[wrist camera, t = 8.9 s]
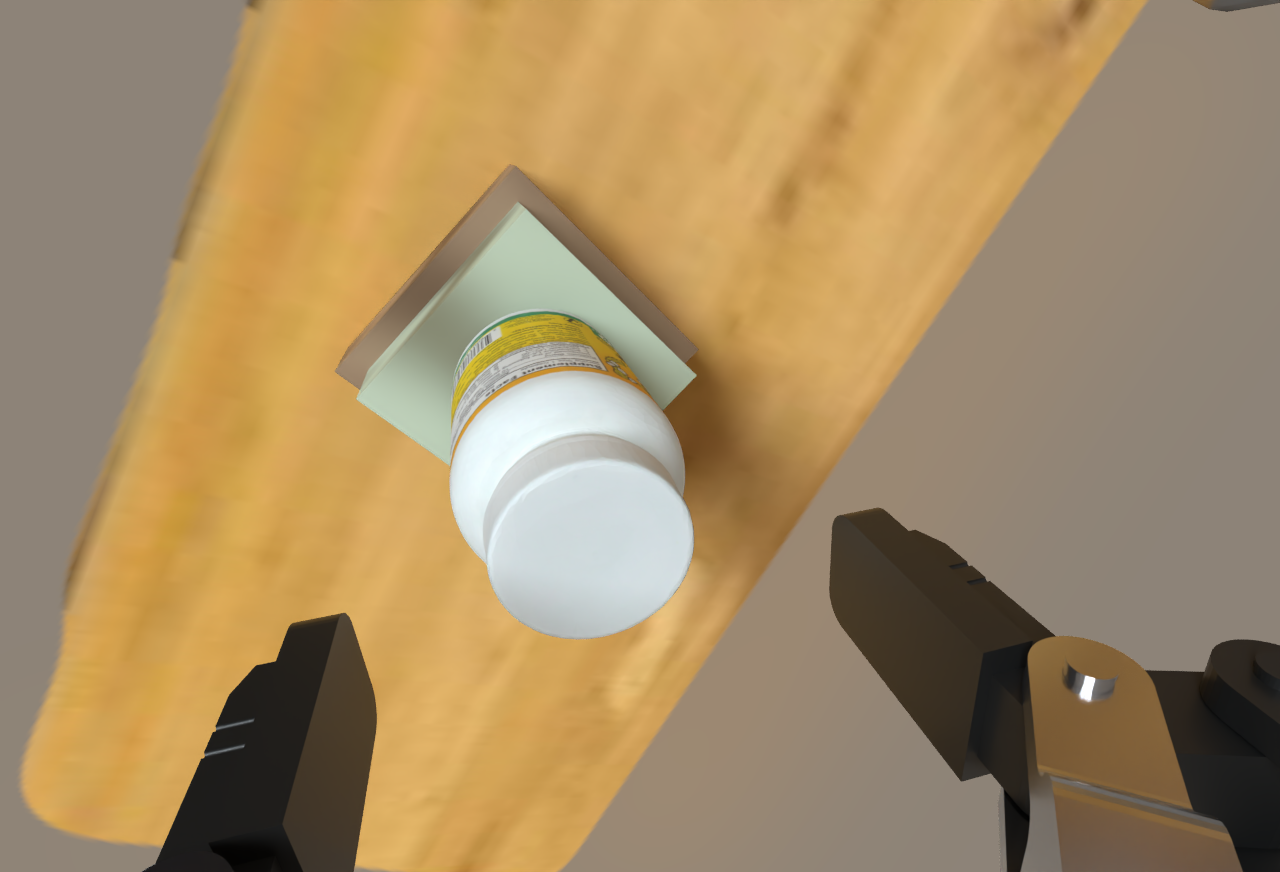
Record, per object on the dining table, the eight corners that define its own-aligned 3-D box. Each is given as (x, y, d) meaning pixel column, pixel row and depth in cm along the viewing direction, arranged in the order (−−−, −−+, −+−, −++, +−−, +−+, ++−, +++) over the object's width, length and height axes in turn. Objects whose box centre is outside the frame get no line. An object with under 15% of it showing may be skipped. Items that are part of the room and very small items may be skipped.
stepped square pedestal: (509, 164, 24) (523, 168, 19) (675, 330, 28) (726, 373, 23) (347, 347, 25) (317, 401, 20) (529, 482, 29) (545, 558, 24)
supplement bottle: (437, 316, 20) (418, 446, 11) (616, 295, 21) (727, 399, 12) (468, 480, 22) (474, 694, 13) (629, 453, 23) (731, 636, 14)
